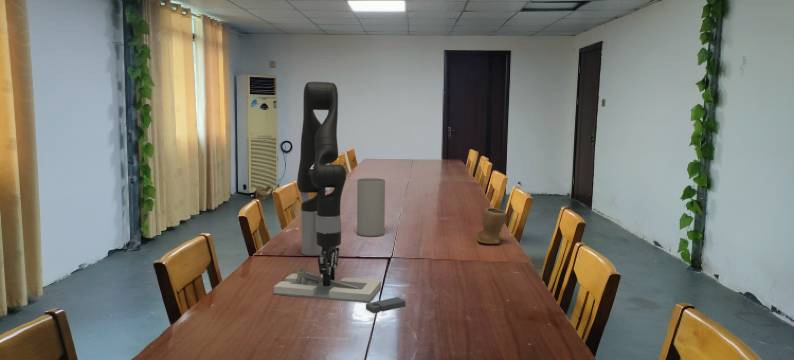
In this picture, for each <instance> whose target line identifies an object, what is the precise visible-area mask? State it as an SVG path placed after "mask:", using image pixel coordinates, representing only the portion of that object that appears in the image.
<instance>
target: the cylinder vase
mask: <svg viewBox="0 0 794 360" xmlns="http://www.w3.org/2000/svg"><path fill="white" fill-rule="evenodd" d="M356 180H357V182H356V183H357V184H356V186H357V188H356V189H357V191H356V193H357V194H356V195H357V196H356V197H357V198H356V202H357V203H356V233H357V235H358V236H361V237H365V238H366V237H369V238H371V237H372V238H373V237H374V238H375V237H380V236H383V235H384V234H385V222H386V220H385V215H386V214H385V212H386V210H385V208H386V207H385V204H386V203H385V202H386V199H385V198H386V195H385V194H386V180H385V179H384V178H376V177H375V178H373V177H369V178H368V177H367V178H357V179H356Z"/></svg>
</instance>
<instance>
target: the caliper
mask: <svg viewBox="0 0 794 360" xmlns="http://www.w3.org/2000/svg"><path fill="white" fill-rule="evenodd" d="M297 274H298V275H297V284H300V283H301V279H302V278H304V282H303V285H306V284H307V282H308V281H310V282H312V283H316V284H319V282H320V283H323V277H321V276H322V275H321V274H316V273H312V272H310V271H307V268H304V267H303V266H302V267H301V268H300V269H299V270H298V271H297ZM330 285H331V286H335V287H338V288H349V289H358V287H356V286H352V285H349V284H345V283H341V282H340V281H338V280H335V281H334V280H330Z"/></svg>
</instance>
